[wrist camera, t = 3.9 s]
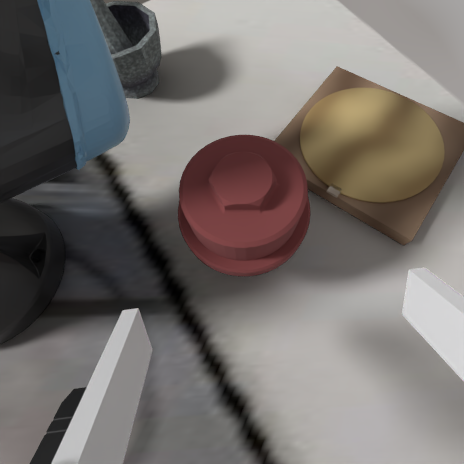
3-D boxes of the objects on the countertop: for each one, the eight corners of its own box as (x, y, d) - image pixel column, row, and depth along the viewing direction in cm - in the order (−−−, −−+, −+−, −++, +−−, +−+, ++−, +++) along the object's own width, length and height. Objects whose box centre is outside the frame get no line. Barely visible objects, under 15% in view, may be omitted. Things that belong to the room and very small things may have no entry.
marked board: (262, 162, 31) (262, 153, 30) (333, 76, 36) (337, 64, 34) (403, 246, 27) (413, 240, 26) (465, 137, 31) (478, 126, 30)
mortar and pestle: (186, 79, 37) (160, -33, 26) (131, 121, 35) (76, 18, 24) (135, 42, 40) (92, -73, 29) (82, 77, 38) (13, -31, 27)
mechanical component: (312, 259, 27) (224, 309, 26) (261, 183, 31) (180, 224, 29) (361, 203, 16) (205, 289, 14) (269, 91, 19) (137, 153, 18)
